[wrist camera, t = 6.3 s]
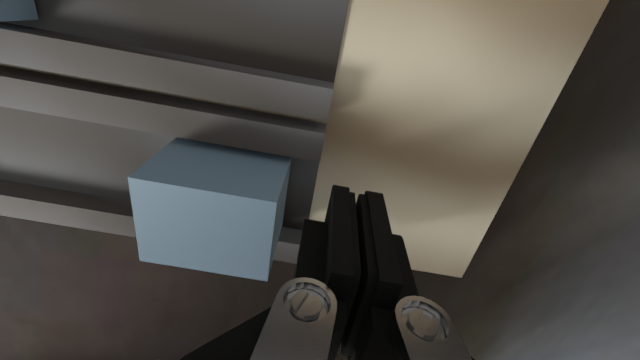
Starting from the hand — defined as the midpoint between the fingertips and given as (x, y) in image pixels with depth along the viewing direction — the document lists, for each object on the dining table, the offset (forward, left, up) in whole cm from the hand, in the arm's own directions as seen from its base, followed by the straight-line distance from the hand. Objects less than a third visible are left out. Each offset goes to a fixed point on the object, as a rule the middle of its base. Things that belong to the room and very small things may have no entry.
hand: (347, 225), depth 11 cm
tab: (0, +4, -1) cm, 4 cm away
